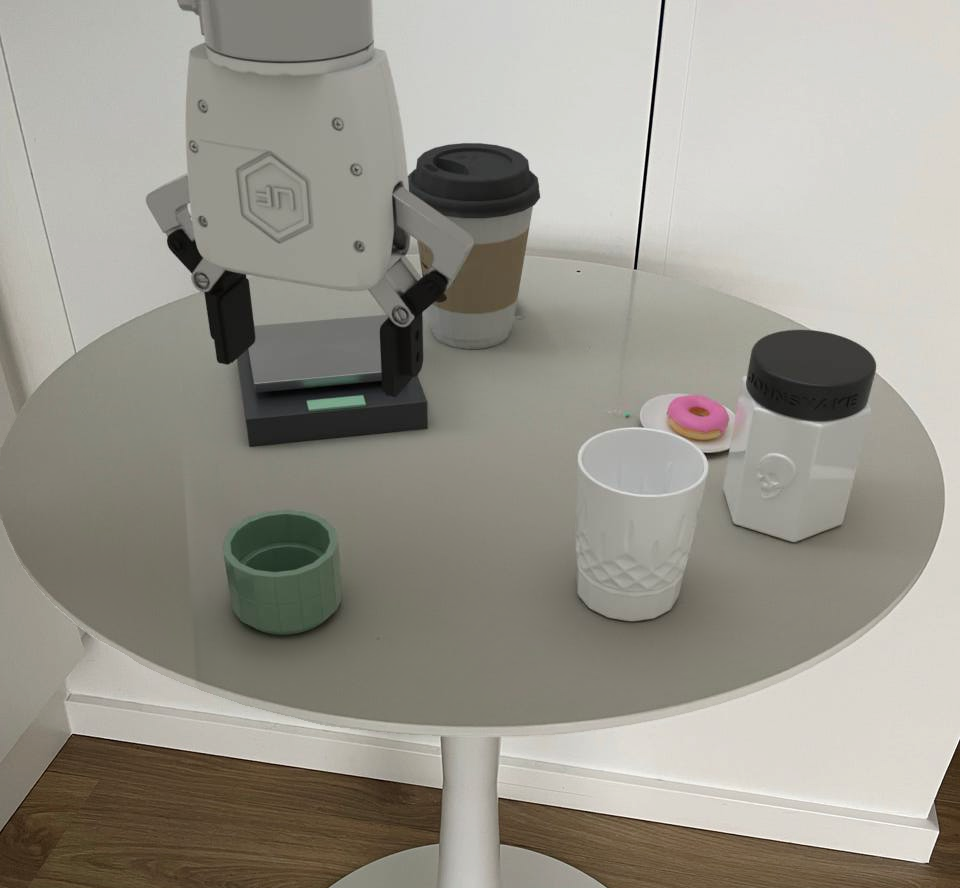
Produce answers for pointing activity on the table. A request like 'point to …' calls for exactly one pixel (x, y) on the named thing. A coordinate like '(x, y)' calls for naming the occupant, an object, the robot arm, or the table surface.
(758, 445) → the jar
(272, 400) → the scale
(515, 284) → the coffee cup
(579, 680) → the table surface
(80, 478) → the table surface
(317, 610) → the bowl
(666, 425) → the donut
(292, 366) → the scale platform
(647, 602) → the white cup
